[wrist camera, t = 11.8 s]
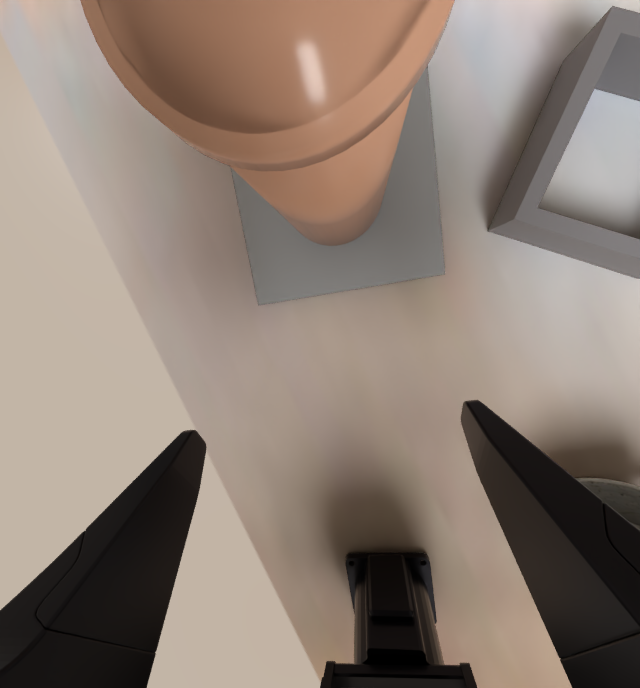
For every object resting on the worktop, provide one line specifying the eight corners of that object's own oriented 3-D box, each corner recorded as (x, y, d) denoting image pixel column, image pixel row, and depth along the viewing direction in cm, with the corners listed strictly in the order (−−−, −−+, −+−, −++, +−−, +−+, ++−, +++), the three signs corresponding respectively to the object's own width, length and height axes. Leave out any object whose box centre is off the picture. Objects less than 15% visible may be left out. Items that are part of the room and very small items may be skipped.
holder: (637, 278, 17) (696, 276, 14) (487, 230, 17) (513, 219, 14) (737, 108, 14) (833, 62, 12) (563, 60, 15) (612, 5, 12)
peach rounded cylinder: (394, 239, 17) (501, 95, 4) (289, 259, 18) (129, 190, 5) (376, 80, 16) (457, -825, 3) (264, 112, 17) (-37, -451, 4)
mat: (440, 274, 18) (445, 274, 17) (263, 304, 20) (258, 305, 19) (421, 59, 16) (425, 45, 15) (226, 116, 18) (218, 106, 17)
